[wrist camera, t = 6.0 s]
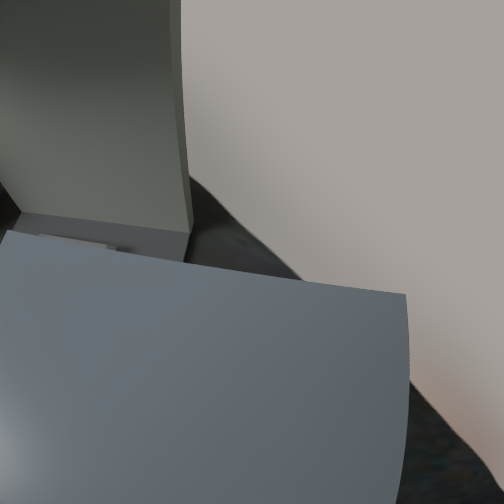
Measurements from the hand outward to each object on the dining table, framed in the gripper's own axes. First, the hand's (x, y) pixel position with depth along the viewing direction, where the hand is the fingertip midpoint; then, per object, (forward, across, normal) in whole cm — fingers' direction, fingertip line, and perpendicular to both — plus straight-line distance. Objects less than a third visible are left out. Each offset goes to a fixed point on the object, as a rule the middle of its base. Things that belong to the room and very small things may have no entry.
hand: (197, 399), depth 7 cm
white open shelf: (+13, +14, +4) cm, 20 cm away
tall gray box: (+4, 0, +6) cm, 7 cm away
